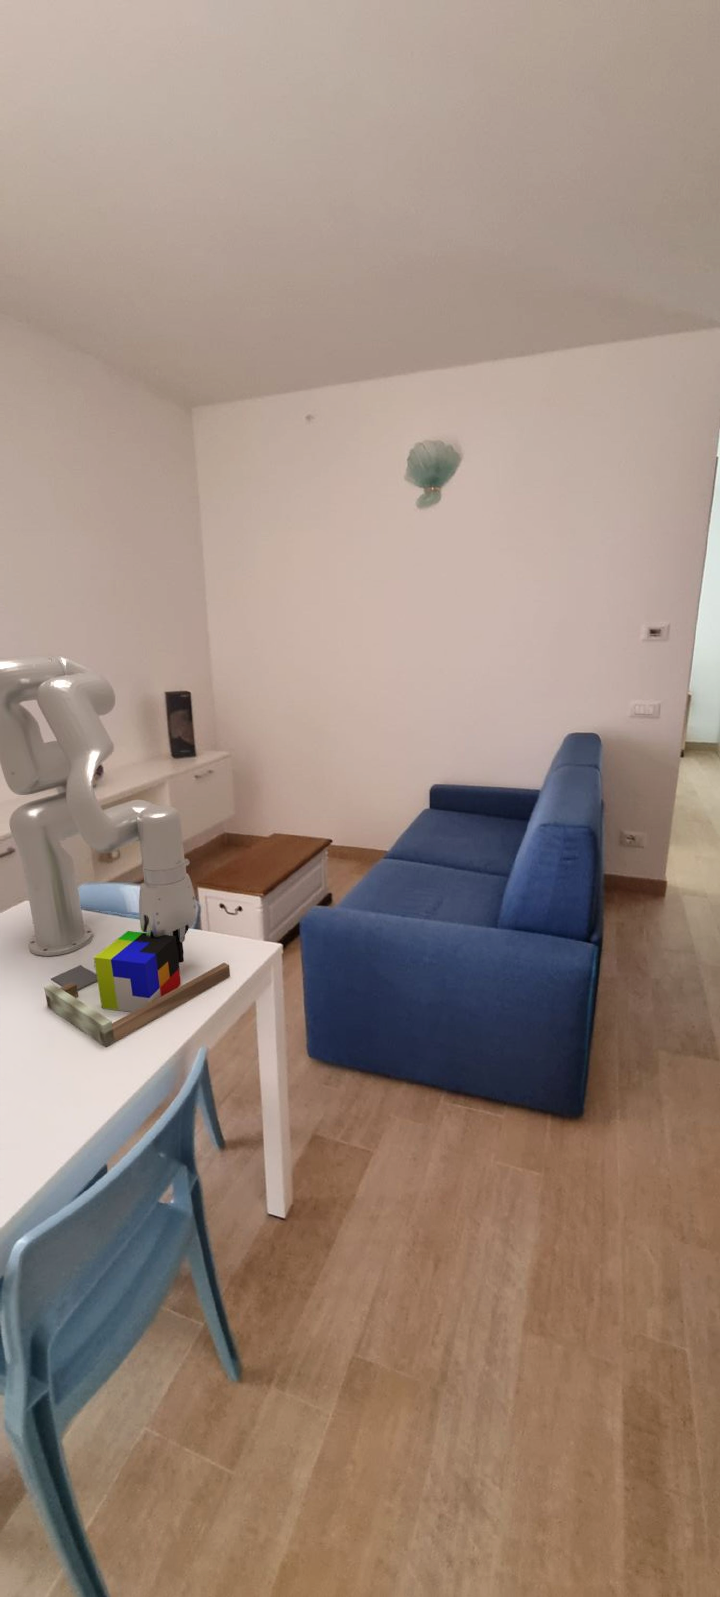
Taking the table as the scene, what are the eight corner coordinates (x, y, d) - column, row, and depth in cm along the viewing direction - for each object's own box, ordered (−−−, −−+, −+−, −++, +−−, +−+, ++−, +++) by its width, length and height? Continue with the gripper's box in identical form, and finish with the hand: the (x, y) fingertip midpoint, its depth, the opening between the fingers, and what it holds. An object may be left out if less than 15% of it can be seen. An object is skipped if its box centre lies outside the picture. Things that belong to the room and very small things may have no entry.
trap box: (47, 1006, 115) (44, 987, 114) (169, 948, 135) (167, 930, 134) (106, 1047, 104) (102, 1025, 103) (230, 976, 123) (228, 957, 122)
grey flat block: (51, 979, 124) (51, 978, 124) (80, 966, 129) (80, 965, 128) (72, 993, 119) (72, 991, 119) (102, 978, 124) (102, 977, 124)
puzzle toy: (151, 1015, 112) (145, 963, 109) (101, 1007, 114) (94, 957, 112) (181, 984, 121) (175, 936, 119) (134, 978, 124) (127, 930, 121)
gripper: (184, 856, 127) (194, 940, 132) (117, 881, 116) (130, 972, 121) (209, 864, 123) (218, 950, 128) (142, 891, 111) (154, 984, 116)
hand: (175, 961), depth 124 cm, fingers closed
